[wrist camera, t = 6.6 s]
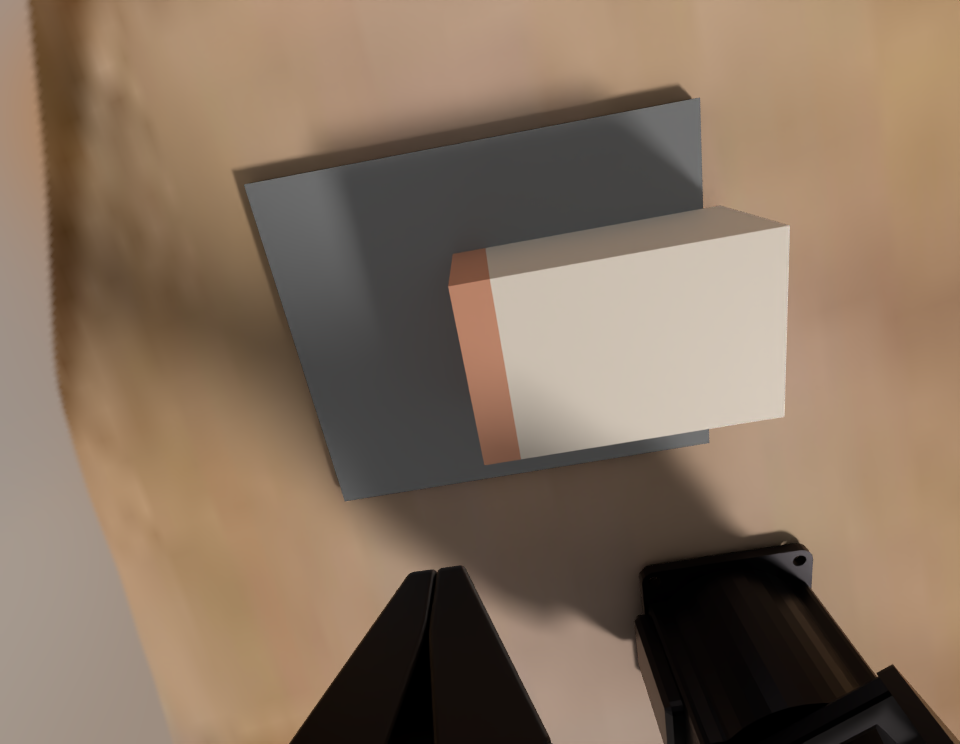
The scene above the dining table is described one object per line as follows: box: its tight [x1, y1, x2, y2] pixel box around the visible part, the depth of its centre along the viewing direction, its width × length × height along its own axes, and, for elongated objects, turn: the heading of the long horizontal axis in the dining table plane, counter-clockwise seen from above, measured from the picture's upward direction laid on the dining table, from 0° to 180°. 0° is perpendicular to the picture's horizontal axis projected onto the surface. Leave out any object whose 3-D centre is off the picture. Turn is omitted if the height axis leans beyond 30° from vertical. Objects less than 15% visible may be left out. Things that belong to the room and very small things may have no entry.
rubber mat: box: [244, 98, 709, 501], centre depth 18 cm, size 13×11×1 cm
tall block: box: [448, 206, 790, 465], centre depth 16 cm, size 4×5×8 cm
